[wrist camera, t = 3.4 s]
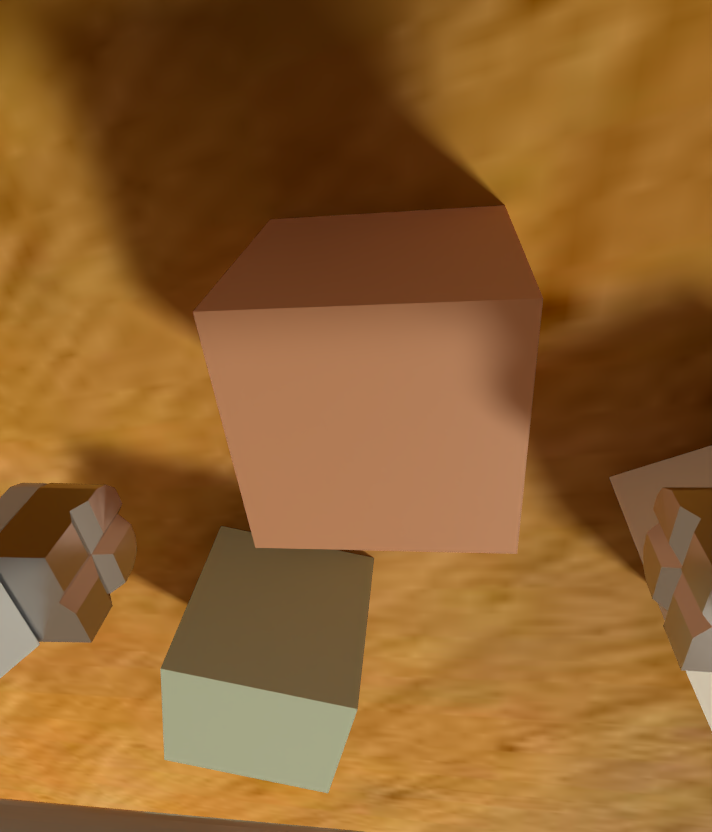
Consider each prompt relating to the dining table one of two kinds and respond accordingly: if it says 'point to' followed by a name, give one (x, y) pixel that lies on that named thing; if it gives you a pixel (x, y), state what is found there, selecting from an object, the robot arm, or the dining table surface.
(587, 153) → the dining table surface
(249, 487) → the terracotta cube
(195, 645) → the sage green cube
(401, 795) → the dining table surface
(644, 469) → the off-white cube
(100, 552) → the robot arm
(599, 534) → the dining table surface
